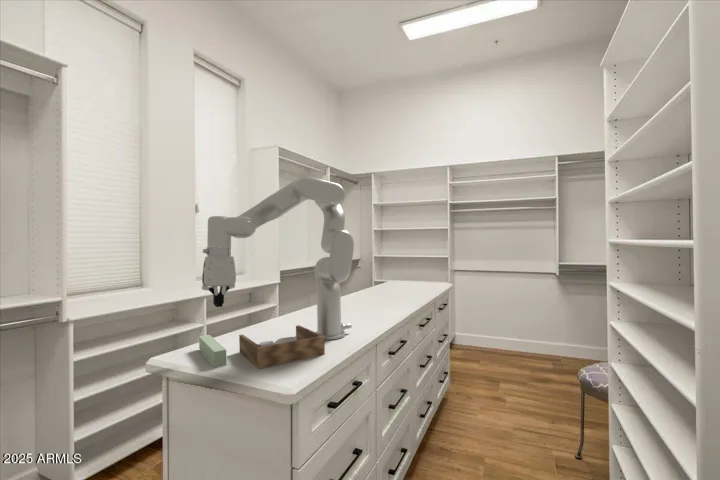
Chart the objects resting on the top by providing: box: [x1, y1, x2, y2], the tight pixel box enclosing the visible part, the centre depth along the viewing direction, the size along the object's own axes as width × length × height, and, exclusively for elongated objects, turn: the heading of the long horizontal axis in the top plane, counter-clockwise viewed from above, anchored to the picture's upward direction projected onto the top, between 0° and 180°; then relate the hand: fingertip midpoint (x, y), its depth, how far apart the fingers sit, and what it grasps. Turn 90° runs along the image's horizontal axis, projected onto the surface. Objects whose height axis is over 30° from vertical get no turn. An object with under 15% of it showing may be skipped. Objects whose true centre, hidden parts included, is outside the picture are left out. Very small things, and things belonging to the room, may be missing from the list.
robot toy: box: [256, 335, 298, 347], centre depth 119 cm, size 12×4×15 cm
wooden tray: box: [238, 325, 326, 370], centre depth 119 cm, size 22×20×6 cm
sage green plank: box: [198, 334, 227, 368], centre depth 117 cm, size 23×4×5 cm, turn 35°
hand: (218, 306), depth 119 cm, fingers closed
